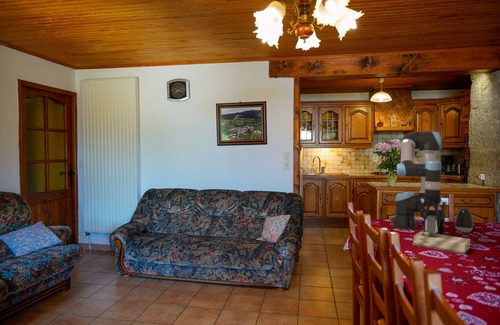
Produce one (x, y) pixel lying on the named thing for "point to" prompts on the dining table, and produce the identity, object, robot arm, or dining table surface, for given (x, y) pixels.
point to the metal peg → (431, 225)
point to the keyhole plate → (442, 242)
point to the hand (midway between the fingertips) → (431, 231)
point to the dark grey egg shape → (464, 221)
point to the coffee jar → (442, 222)
